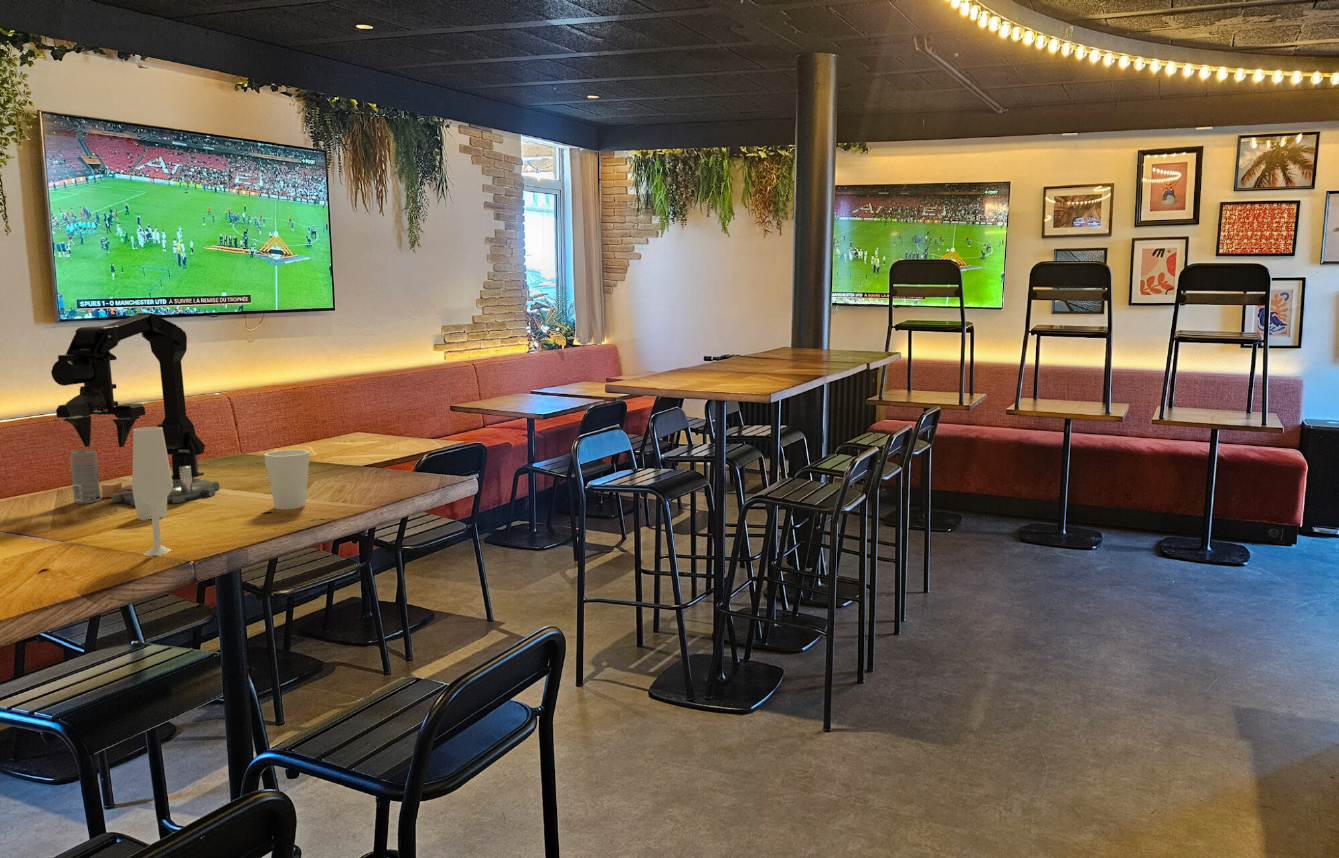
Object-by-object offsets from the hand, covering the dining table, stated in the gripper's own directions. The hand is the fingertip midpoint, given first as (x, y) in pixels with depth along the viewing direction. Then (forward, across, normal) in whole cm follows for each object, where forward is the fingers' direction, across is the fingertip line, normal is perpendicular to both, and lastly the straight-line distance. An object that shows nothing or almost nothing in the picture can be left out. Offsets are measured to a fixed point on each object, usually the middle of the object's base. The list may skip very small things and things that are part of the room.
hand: (104, 446), depth 229 cm
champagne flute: (+12, +43, -46) cm, 64 cm away
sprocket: (+13, +12, +4) cm, 18 cm away
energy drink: (+13, -4, -3) cm, 14 cm away
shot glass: (+13, +22, -17) cm, 31 cm away
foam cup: (+13, +49, -7) cm, 51 cm away
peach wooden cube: (+13, -2, +3) cm, 13 cm away
